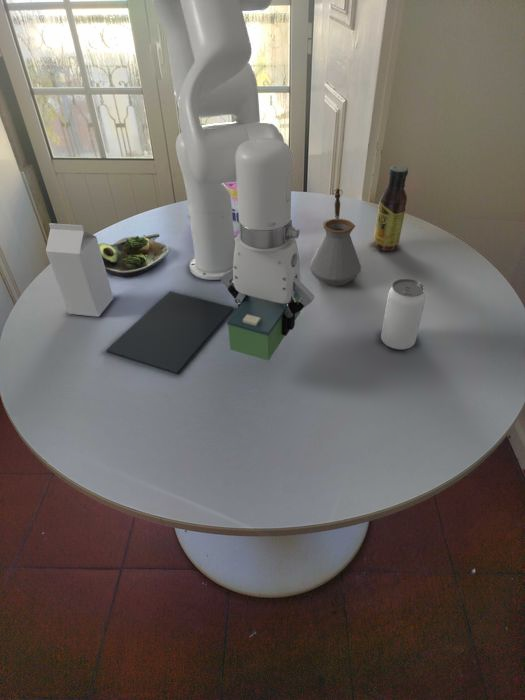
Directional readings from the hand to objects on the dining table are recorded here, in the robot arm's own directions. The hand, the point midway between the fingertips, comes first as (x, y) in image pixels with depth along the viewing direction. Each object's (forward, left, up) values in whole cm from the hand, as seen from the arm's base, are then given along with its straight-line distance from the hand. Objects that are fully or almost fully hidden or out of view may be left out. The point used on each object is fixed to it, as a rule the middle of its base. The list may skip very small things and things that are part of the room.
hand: (266, 324), depth 81 cm
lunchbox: (+7, 0, +2) cm, 7 cm away
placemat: (-2, -22, -9) cm, 23 cm away
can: (-16, +20, -9) cm, 27 cm away
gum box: (-49, -35, -9) cm, 60 cm away
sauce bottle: (-52, +9, -9) cm, 53 cm away
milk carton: (-2, -43, -9) cm, 43 cm away
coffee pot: (-38, 0, -9) cm, 39 cm away
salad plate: (-22, -48, -9) cm, 53 cm away
